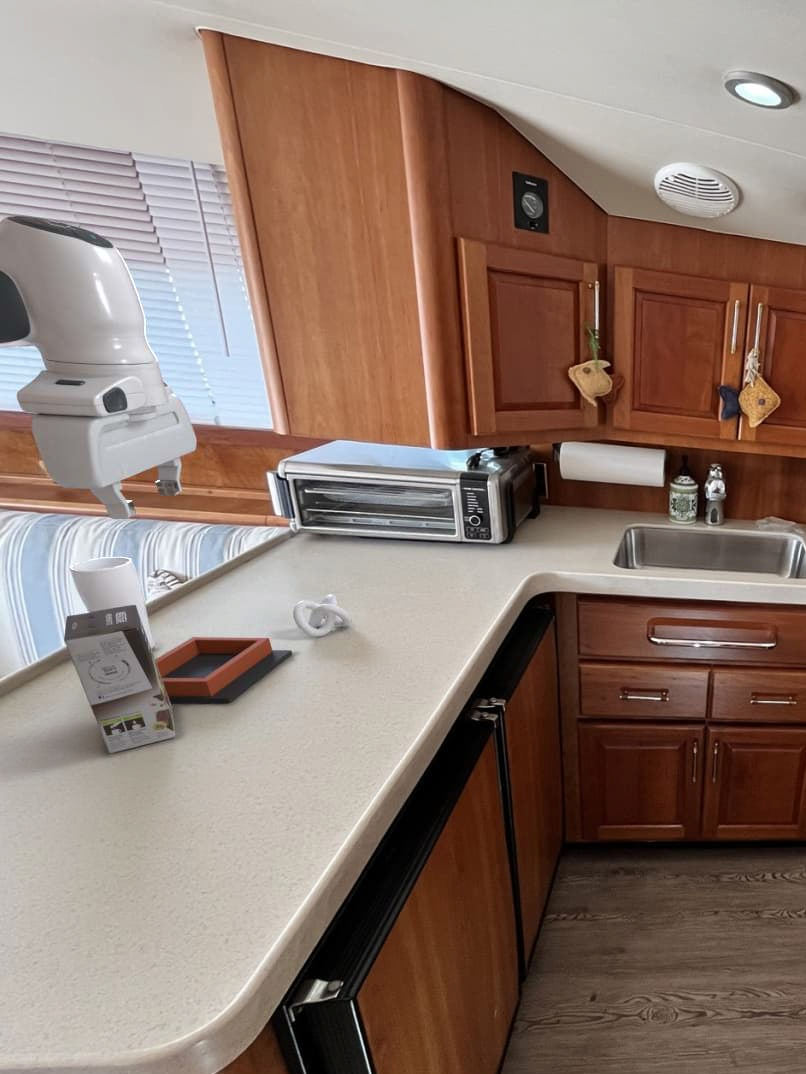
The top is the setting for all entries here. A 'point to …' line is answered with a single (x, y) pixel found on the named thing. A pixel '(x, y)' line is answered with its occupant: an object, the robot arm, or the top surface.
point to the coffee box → (120, 677)
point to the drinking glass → (111, 587)
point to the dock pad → (216, 668)
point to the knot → (321, 616)
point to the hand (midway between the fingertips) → (148, 505)
